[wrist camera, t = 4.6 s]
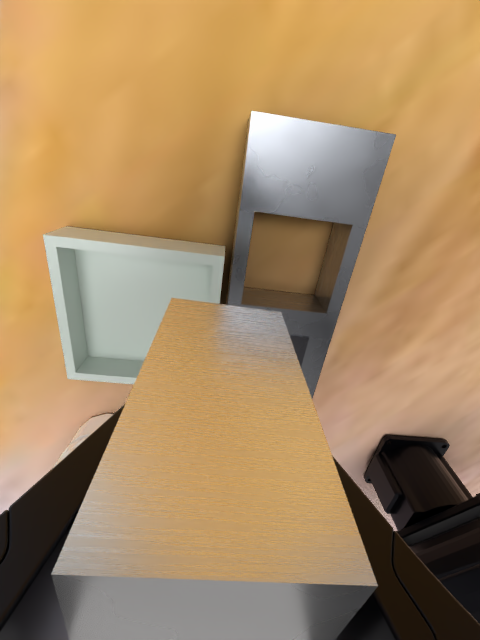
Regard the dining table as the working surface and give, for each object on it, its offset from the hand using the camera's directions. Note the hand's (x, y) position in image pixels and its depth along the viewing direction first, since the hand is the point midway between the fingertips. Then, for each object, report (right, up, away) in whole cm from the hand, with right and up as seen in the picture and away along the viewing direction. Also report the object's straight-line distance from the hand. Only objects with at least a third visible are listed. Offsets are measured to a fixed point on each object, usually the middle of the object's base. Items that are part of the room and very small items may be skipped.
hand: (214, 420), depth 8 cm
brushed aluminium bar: (0, +2, +3) cm, 4 cm away
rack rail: (+3, +5, +13) cm, 14 cm away
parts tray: (-6, +4, +13) cm, 14 cm away
